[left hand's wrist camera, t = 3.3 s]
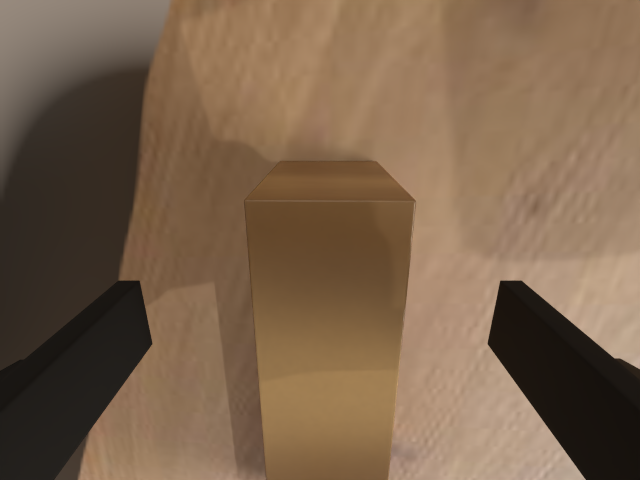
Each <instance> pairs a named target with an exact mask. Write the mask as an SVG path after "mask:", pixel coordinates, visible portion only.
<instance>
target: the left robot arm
mask: <svg viewBox="0 0 640 480" xmlns="http://www.w3.org/2000/svg"><path fill="white" fill-rule="evenodd" d="M151 345H152V339H151V334H150V330H149V325H148V320H147V315H146V310H145V305H144V300H143V295H142V290H141V285H140V281H118V282H116V283H115V284H114V285H113V286H112V287H110V288H109V289H108V290H107V291H106V292H105V293H103V294H102V295H101V296H100V297H99V298H97V299H96V300H95V301H94V302H93V303H91V304H90V305H89V306H88V307H87V308H85V309H84V310H83V311H82V312H81V313H79V314H78V315H77V316H76V317H75V318H74V319H72V320H71V321H70V322H69V323H67V324H66V325H65V326H64V327H63V328H61V329H60V330H59V331H58V332H57V333H55V334H54V335H53V336H52V337H51V338H50V339H48V340H47V341H46V342H45V343H44V344H42V345H41V346H40V347H39V348H38V349H36V350H35V351H34V352H33V353H32V354H30V355H29V356H28V357H27V358H26V359H24V360H19V361H17V362H15V363H14V364H12V365H10V366H8V367H6V368H5V369H3V370H1V371H0V480H54V479H55V478H56V476H57V475H58V474H59V472H60V471H61V470H62V468H63V467H64V465H65V464H66V463H67V461H68V460H69V458H70V457H71V456H72V454H73V453H74V452H75V450H76V449H77V447H78V446H79V445H80V443H81V442H82V440H83V439H84V438H85V436H86V435H87V434H88V432H89V431H90V429H91V428H92V427H93V425H94V424H95V423H96V421H97V420H98V418H99V417H100V416H101V414H102V413H103V411H104V410H105V409H106V407H107V406H108V405H109V403H110V402H111V400H112V399H113V398H114V396H115V395H116V393H117V392H118V391H119V389H120V388H121V387H122V385H123V384H124V382H125V381H126V380H127V378H128V377H129V376H130V374H131V373H132V371H133V370H134V369H135V367H136V366H137V364H138V363H139V362H140V360H141V359H142V358H143V356H144V355H145V353H146V352H147V351H148V349H149V348H150V346H151ZM488 345H489V346H490V348H491V349H492V351H493V352H494V353H495V355H496V356H497V358H498V359H499V360H500V362H501V363H502V364H503V366H504V367H505V369H506V370H507V371H508V373H509V374H510V376H511V377H512V378H513V380H514V381H515V382H516V384H517V385H518V387H519V388H520V389H521V391H522V392H523V393H524V395H525V396H526V398H527V399H528V400H529V402H530V403H531V405H532V406H533V407H534V409H535V410H536V411H537V413H538V414H539V416H540V417H541V418H542V420H543V421H544V423H545V424H546V425H547V427H548V428H549V429H550V431H551V432H552V434H553V435H554V436H555V438H556V439H557V440H558V442H559V443H560V445H561V446H562V447H563V449H564V450H565V452H566V453H567V454H568V456H569V457H570V458H571V460H572V461H573V463H574V464H575V465H576V467H577V468H578V470H579V471H580V472H581V474H582V475H583V476H584V478H585V479H586V480H640V369H638V368H636V367H635V366H633V365H631V364H629V363H627V362H625V361H624V360H622V359H614V358H613V357H612V356H611V355H610V354H608V353H607V352H606V351H605V350H604V349H602V348H601V347H600V346H599V345H598V344H596V343H595V342H594V341H593V340H592V339H590V338H589V337H588V336H587V335H586V334H585V333H583V332H582V331H581V330H580V329H579V328H577V327H576V326H575V325H574V324H573V323H571V322H570V321H569V320H568V319H567V318H565V317H564V316H563V315H562V314H561V313H559V312H558V311H557V310H556V309H555V308H553V307H552V306H551V305H550V304H549V303H547V302H546V301H545V300H544V299H543V298H541V297H540V296H539V295H538V294H537V293H536V292H534V291H533V290H532V289H531V288H530V287H528V286H527V285H526V284H525V283H524V282H522V281H500V285H499V290H498V295H497V300H496V305H495V310H494V315H493V320H492V325H491V329H490V334H489V339H488Z"/></svg>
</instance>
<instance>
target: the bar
mask: <svg viewBox="0 0 640 480" xmlns="http://www.w3.org/2000/svg"><path fill="white" fill-rule="evenodd" d="M244 205H245V218H246V231H247V243H248V256H249V269H250V281H251V294H252V307H253V319H254V332H255V345H256V357H257V370H258V383H259V395H260V408H261V421H262V433H263V446H264V459H265V471H266V480H388V477H389V467H390V457H391V447H392V437H393V427H394V417H395V407H396V397H397V387H398V377H399V367H400V357H401V347H402V337H403V327H404V317H405V307H406V297H407V287H408V277H409V267H410V257H411V247H412V237H413V227H414V217H415V207H416V201H415V200H414V199H413V198H412V197H411V196H410V195H409V194H408V193H407V192H406V191H405V190H404V188H403V187H402V186H401V185H400V184H399V183H398V182H397V181H396V180H395V179H394V178H393V177H392V176H391V175H390V174H389V173H388V172H387V171H386V170H385V169H384V168H383V167H382V166H381V165H380V164H379V163H378V162H376V161H280V162H279V163H278V164H277V165H276V166H275V167H274V168H273V170H272V171H271V172H270V173H269V174H268V175H267V176H266V177H265V178H264V179H263V180H262V182H261V183H260V184H259V185H258V186H257V187H256V188H255V189H254V190H253V191H252V192H251V194H250V195H249V196H248V197H247V198H246V199H245V201H244Z"/></svg>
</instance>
